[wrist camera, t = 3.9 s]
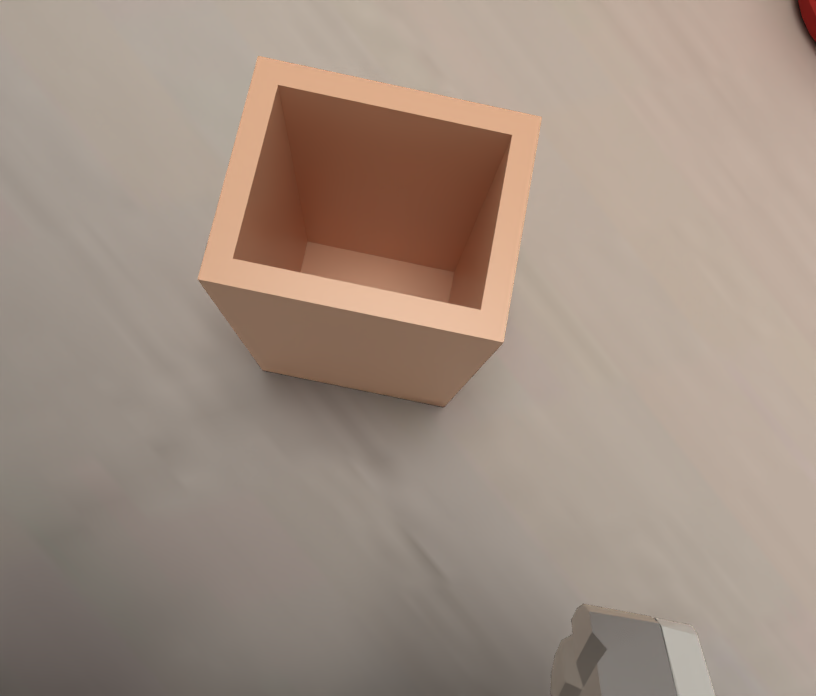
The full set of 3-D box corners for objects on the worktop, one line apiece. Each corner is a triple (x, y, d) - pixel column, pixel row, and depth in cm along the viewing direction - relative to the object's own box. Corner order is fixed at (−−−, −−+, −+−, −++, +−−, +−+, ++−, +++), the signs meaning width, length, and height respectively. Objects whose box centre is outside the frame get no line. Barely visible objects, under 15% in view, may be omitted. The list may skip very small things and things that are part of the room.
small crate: (262, 369, 22) (197, 279, 13) (296, 230, 23) (258, 55, 14) (444, 407, 22) (503, 342, 13) (470, 266, 23) (542, 116, 14)
